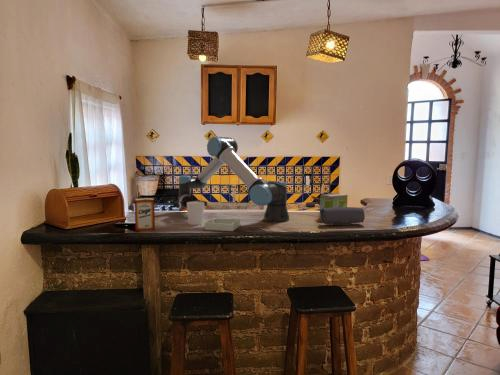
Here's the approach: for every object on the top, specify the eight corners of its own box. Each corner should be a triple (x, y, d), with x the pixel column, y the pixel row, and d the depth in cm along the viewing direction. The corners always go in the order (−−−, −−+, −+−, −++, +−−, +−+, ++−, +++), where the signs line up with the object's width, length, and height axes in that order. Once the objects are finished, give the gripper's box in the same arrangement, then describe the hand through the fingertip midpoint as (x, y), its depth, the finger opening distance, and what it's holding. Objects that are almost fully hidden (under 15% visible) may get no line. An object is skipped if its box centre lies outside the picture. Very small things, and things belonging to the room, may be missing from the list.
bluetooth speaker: (357, 222, 207) (357, 205, 206) (364, 226, 198) (365, 208, 197) (319, 223, 203) (319, 206, 202) (325, 227, 194) (326, 209, 193)
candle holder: (183, 224, 199) (183, 203, 198) (192, 221, 208) (192, 201, 207) (198, 226, 196) (198, 204, 194) (207, 222, 205) (207, 201, 203)
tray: (240, 225, 197) (240, 219, 197) (232, 231, 183) (232, 224, 183) (214, 224, 201) (214, 217, 201) (204, 229, 186) (204, 222, 186)
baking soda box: (135, 230, 183) (134, 199, 181) (135, 228, 189) (134, 198, 187) (154, 229, 185) (154, 199, 184) (154, 227, 192) (153, 197, 190)
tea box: (332, 220, 212) (333, 196, 211) (319, 218, 220) (319, 194, 218) (347, 218, 222) (347, 194, 221) (333, 215, 230) (334, 192, 228)
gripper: (206, 206, 235) (213, 211, 215) (167, 207, 227) (170, 213, 207) (206, 194, 234) (213, 199, 214) (167, 195, 226) (170, 200, 206)
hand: (192, 206), depth 210 cm, fingers open, 13 cm apart
